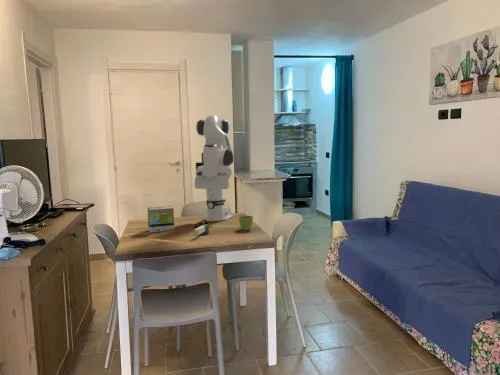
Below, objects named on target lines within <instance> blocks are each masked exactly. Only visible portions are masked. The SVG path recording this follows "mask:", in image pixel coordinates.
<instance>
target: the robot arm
mask: <svg viewBox="0 0 500 375" xmlns="http://www.w3.org/2000/svg"><path fill="white" fill-rule="evenodd" d="M195 130H196V133H197V134H198V135H199V136H203V137H204V139H205V143H204V145H203V151H202V153H201V163H202V164H203V165H200V166H199V165H198V166H197V167H196V170H195V177H194V188H195V189H196V190H197V189H200V190H203V189H204V190H205V191H206V207H205V212H204V213H205V215H204V217H203V218H204V220H205V221H206V222H207V221H208V222H221V221H228V220H230V219H232V218H233V217H234V215H233V214H231V212H230V208H229V207H228V206H226V204H225V203H226V202H227V201H226V200H227V199H225V198H223V190H228V189H229V188H230V181H229V180H230V178H231V177H232V175H233V174H232V173H233V170H232V167H231V165H233V163H234V160H235V155H234V153H233V150H232V147H231V144H230V141H229V138H228V135H227V134H229V132H230V124H229V121H228V120H227V119H223V118H222V119H220V118H219V117H218V116H216V115H214V114H212V115H211V114H210V115H208V116H207V117H206V118H205V119H200V120H197V122H196V124H195Z"/></svg>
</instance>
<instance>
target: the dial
mask: <svg viewBox="0 0 500 375" xmlns="http://www.w3.org/2000/svg"><path fill="white" fill-rule="evenodd" d="M219 235H221V236H222V235H223V234H222V233H219ZM192 236H193V235H191V237H192ZM214 237H215V238H216V237H217V235H214ZM203 238H206V239H208V236H206V237H205V236H204V235H203V236H199V235H194V236H193V237H192V239H196V240H197V239H199V240H200V239H201V240H202V239H203Z"/></svg>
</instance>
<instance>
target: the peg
mask: <svg viewBox="0 0 500 375" xmlns="http://www.w3.org/2000/svg"><path fill="white" fill-rule="evenodd" d="M209 234H210V224H201V225H200V226H198V227H197V228H195V229H194V236H199V235H209Z"/></svg>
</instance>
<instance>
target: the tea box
mask: <svg viewBox="0 0 500 375" xmlns="http://www.w3.org/2000/svg"><path fill="white" fill-rule="evenodd" d="M174 210H175V209H174V208H173V206H171V205H168V206H166V205H165V206H153V207H152V206H150V207H147V230H148V231H149V233H160V232H165V231H168V230H174V229H175V217H174V216H175V214H174V212H175V211H174Z"/></svg>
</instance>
